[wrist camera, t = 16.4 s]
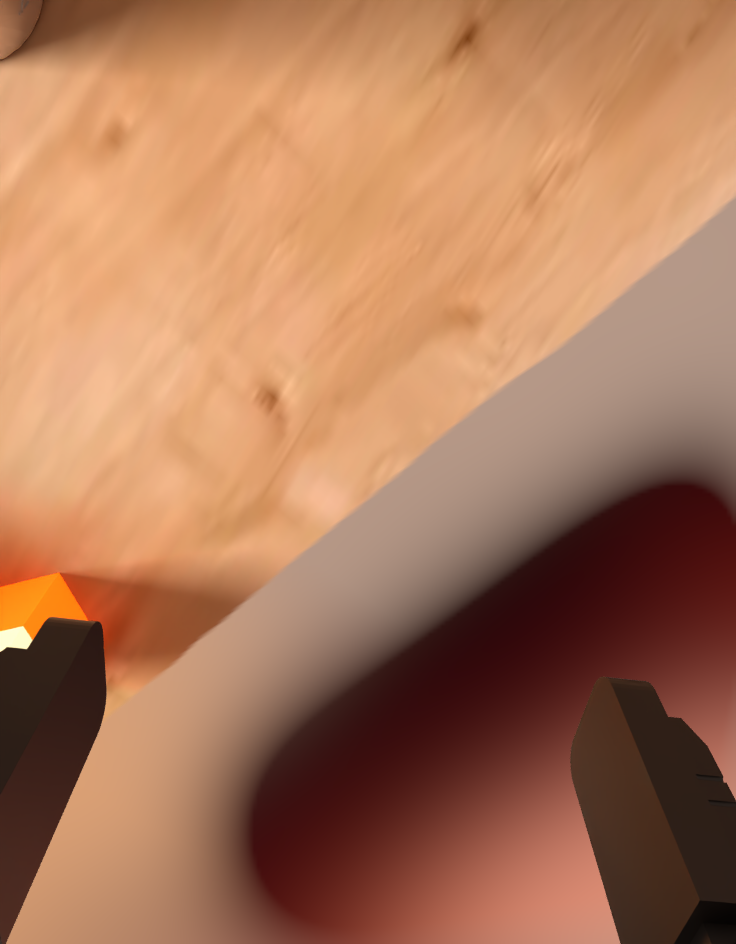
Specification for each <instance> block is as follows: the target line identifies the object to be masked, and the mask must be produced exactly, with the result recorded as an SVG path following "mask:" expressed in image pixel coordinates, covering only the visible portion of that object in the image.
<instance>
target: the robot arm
mask: <svg viewBox="0 0 736 944" xmlns="http://www.w3.org/2000/svg"><path fill="white" fill-rule="evenodd" d="M42 2H43V0H0V60H1V59H4V58H6V57H7V56H9V55H10V54H11V53H13V52H14V51H16V50H17V49H18V48H20V47H21V45H22V44H23V43H24V42H25V40H26V39H27V38H28V37H29V35H30V34H31V33H32V31H33V28H34V26H35V24H36V22H37V20H38V18H39V15H40V11H41V7H42ZM105 705H106V675H105V658H104V641H103V629H102V625H101V623H100V622H97V621H87V620H78V619H68V618H59V617H49V618H48V619H47V620H46V621H45V622H44V623H43V625H42V626H41V628H40V629H39V631H38V632H37V634H36V636H35V637H34V639H33V640H32V642H31V643H30V645H29V647H28V648H27V649H23V648H13V647H6V648H5V649H4V650H2V651H1V652H0V944H6V942H7V939H8V937H9V935H10V933H11V930H12V928H13V926H14V923H15V921H16V919H17V917H18V914H19V912H20V910H21V908H22V905H23V903H24V900H25V898H26V896H27V894H28V891H29V889H30V887H31V885H32V883H33V880H34V878H35V876H36V873H37V871H38V869H39V867H40V864H41V862H42V860H43V857H44V855H45V853H46V850H47V848H48V846H49V844H50V841H51V839H52V837H53V834H54V832H55V830H56V828H57V825H58V823H59V821H60V819H61V816H62V814H63V812H64V809H65V807H66V805H67V803H68V801H69V798H70V796H71V794H72V791H73V789H74V787H75V785H76V782H77V780H78V778H79V775H80V773H81V771H82V768H83V766H84V764H85V762H86V760H87V757H88V755H89V753H90V750H91V748H92V746H93V743H94V741H95V739H96V737H97V734H98V732H99V729H100V726H101V723H102V719H103V715H104V711H105ZM570 763H571V774H572V779H573V783H574V787H575V790H576V794H577V797H578V800H579V804H580V807H581V810H582V814H583V817H584V821H585V824H586V828H587V831H588V834H589V838H590V841H591V844H592V848H593V851H594V855H595V858H596V862H597V865H598V868H599V872H600V875H601V879H602V882H603V885H604V889H605V892H606V895H607V899H608V902H609V906H610V909H611V912H612V916H613V919H614V923H615V926H616V929H617V933H618V936H619V940H620V943H621V944H736V800H735V798H734V796H733V794H732V792H731V791H730V789H729V787H728V785H727V783H724V782H723V775H722V773H721V771H720V769H719V768H718V766H717V764H716V762H715V760H714V758H713V756H712V754H711V752H710V750H709V748H708V746H707V745H706V744H705V743H704V742H703V741H702V740H701V739H700V738H699V737H698V736H697V735H696V734H695V733H694V732H693V730H692V729H691V728H690V727H689V726H688V725H687V724H686V723H685V722H684V721H683V720H682V719H681V718H674V717H668V716H667V714H666V712H665V710H664V707H663V705H662V703H661V701H660V699H659V697H658V695H657V693H656V691H655V689H654V687H653V686H652V685H651V684H650V683H649V682H646V681H637V680H628V679H618V678H609V677H601V678H599V679H598V680H597V681H596V683H595V685H594V687H593V690H592V692H591V695H590V698H589V700H588V703H587V705H586V708H585V711H584V713H583V716H582V718H581V721H580V724H579V726H578V729H577V731H576V734H575V736H574V739H573V743H572V747H571V761H570Z"/></svg>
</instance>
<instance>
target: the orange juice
mask: <svg viewBox="0 0 736 944" xmlns="http://www.w3.org/2000/svg"><path fill="white" fill-rule="evenodd" d="M49 617H59V618H68V619H78V620H87V621H88V619H87V618H86V616H85V614H84V613H83V611H82V609H81V608H80V606H79V605H78V603H77V601H76V600H75V598H74V596H73V595H72V593H71V591H70V590H69V588H68V586H67V585H66V583H65V581H64V580H63V578H62V576H61V575H60V573H55V574H51V575H47V576H43V577H39V578H35V579H31V580H27V581H23V582H19V583H15V584H11V585H7V586H3V587H0V652H1V651H2V650H4V649H5V648H6V647H13V648H23V649H27V648H28V647H29V645H30V643H31V642H32V640H33V639H34V637H35V636H36V634H37V632H38V631H39V629H40V628H41V626H42V625H43V623H44V622H45V621H46V620H47V619H48V618H49Z"/></svg>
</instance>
